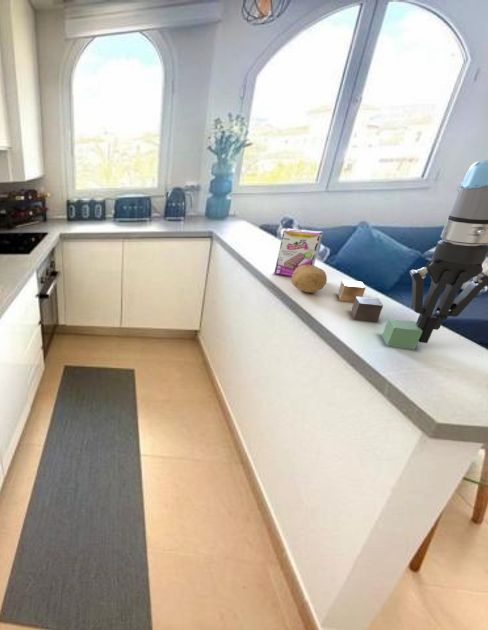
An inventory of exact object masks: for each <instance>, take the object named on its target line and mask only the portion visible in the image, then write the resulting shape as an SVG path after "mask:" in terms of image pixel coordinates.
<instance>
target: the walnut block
mask: <svg viewBox="0 0 488 630" xmlns="http://www.w3.org/2000/svg"><path fill="white" fill-rule="evenodd" d="M383 307H384V304H383V303H382V302H381V300H380V299H379V298H375V297H365V296H363V297H357V296H356V297H355V300H354V302H352V307H351V310H350V314H351V316H352V318H353V320H354V321H362V322H371V323H378V320H379V318H380V315H381V312H382V311H383Z"/></svg>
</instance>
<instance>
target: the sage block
mask: <svg viewBox="0 0 488 630" xmlns="http://www.w3.org/2000/svg"><path fill="white" fill-rule="evenodd" d="M386 321H387V322H386V324H385V326H384V329H383V332H382V335H381V337H382V339H383V341H384V343H385V344H386V346H387V347H393V348H400V349H401V348H402V349H406V350H407V349H408V350H416V348H417V345H418V343H419V339H420V336H421V334H422V332H423V331H422V330H421V328H419V327H418V326H417V325H416V322H417V321H413V320H406V319H405V320H404V319H396V318H388V319H387V320H386Z"/></svg>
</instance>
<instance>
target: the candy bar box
mask: <svg viewBox="0 0 488 630" xmlns="http://www.w3.org/2000/svg"><path fill="white" fill-rule="evenodd" d="M282 232H283V233H282V237H281V242H280V246H279V250H278V253H277V254H278V255H277V259H276V264H275V269H274V275H280V276H285V277H290V278H292V275H293V273H294V271H295V270H296V268H297V267H299V266H301V265H314V266H315V263H316V260H317V256H318V252H319V249H320V245H321V242H322V238H323V234H324V231H318V230H308V229H298V228H288V227H287V228H286V229H284V230H283V231H282Z"/></svg>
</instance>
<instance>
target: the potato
mask: <svg viewBox="0 0 488 630" xmlns="http://www.w3.org/2000/svg"><path fill="white" fill-rule="evenodd" d="M327 281H328V277H327V273H326V271H325V270H323V269H322V268H320V267H318V266H315V264H314V265H301V266H299V267H297V268H296V270H295V271H294V273H293V275H292V277H291V283H292V285H293V286H294V288H296V289H298V290H300V291H302V292H305V293H315V292H318V291H321V290H322V289H324V287H325V286H326V285H327Z"/></svg>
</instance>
